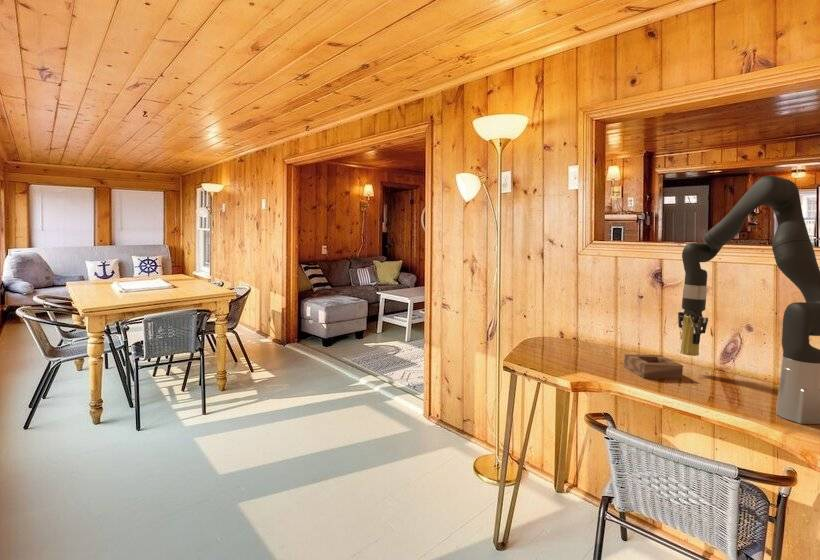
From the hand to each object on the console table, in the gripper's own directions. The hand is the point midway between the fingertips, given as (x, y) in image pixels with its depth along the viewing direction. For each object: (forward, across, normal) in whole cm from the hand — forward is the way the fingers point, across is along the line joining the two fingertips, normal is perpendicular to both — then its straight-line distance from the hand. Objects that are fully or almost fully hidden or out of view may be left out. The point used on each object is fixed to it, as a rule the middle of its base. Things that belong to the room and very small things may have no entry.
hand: (690, 341), depth 176 cm
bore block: (+12, -1, +15) cm, 19 cm away
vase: (+5, 0, 0) cm, 5 cm away
